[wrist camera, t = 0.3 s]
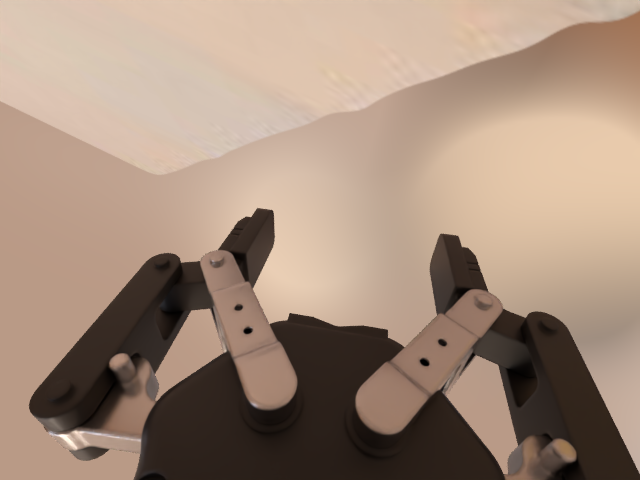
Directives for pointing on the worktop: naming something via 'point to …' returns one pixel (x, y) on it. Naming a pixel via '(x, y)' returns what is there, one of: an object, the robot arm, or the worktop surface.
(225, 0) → the worktop surface
